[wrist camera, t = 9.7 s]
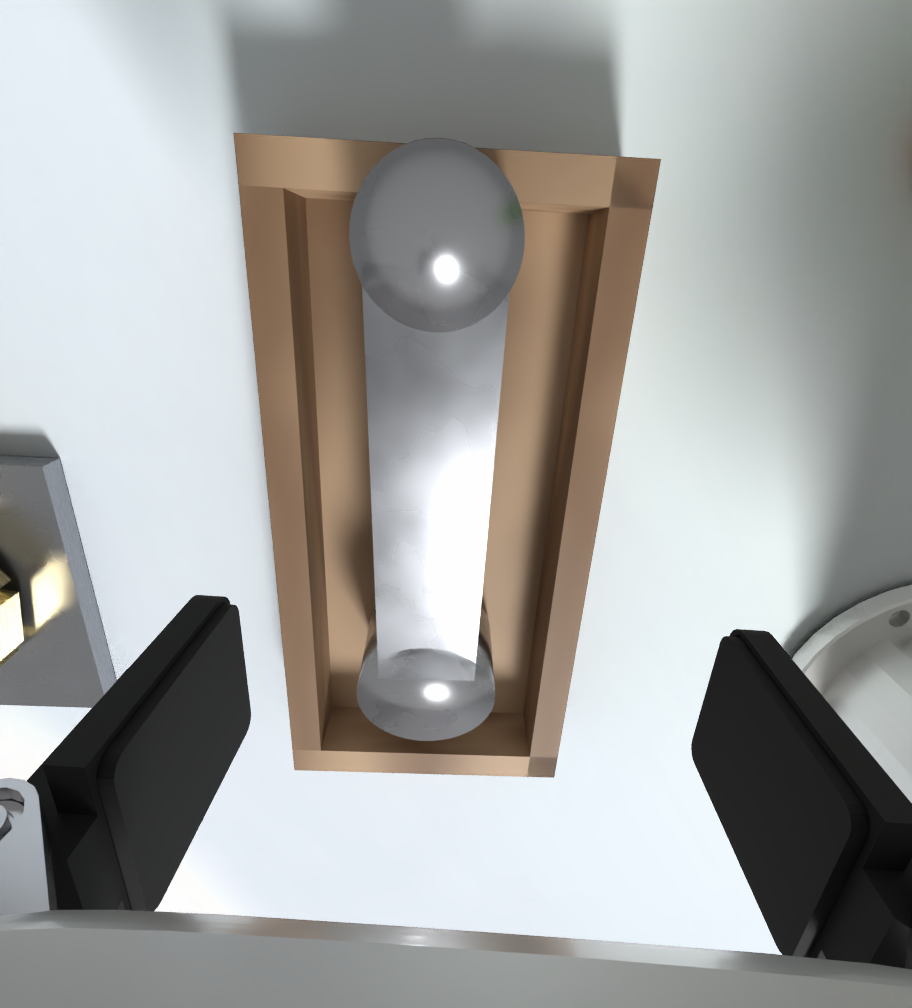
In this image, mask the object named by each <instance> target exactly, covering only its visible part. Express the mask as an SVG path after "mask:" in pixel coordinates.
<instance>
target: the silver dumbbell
mask: <svg viewBox="0 0 912 1008" xmlns="http://www.w3.org/2000/svg"><path fill="white" fill-rule="evenodd" d="M349 242H350V251H351V256H352V260H353V264H354V267H355V270H356V273H357V275H358V277H359V279H360V281H361V283H362V294H363V318H364V342H365V365H366V389H367V413H368V437H369V461H370V484H371V508H372V532H373V556H374V580H375V604H376V608H375V609H374V611H373V613H372V615H371V618H370V623H369V628H368V633H367V638H366V644H365V649H364V654H363V659H362V665H361V670H360V675H359V681H358V686H357V700H358V704H359V706H360V709H361V710H362V712H363V714H364V715H365V716H366V717H367V718H368V719H369V720H370V721H371V722H372V723H373V724H374V725H376V726H377V727H378V728H380V729H382V730H384V731H386V732H388V733H390V734H392V735H395V736H398V737H402V738H406V739H411V740H419V741H436V740H444V739H450V738H453V737H457V736H460V735H462V734H465V733H467V732H469V731H471V730H473V729H474V728H476V727H477V726H479V725H480V724H481V723H482V722H483V721H484V720H485V719H486V718H487V717H488V715H489V714H490V712H491V711H492V708H493V706H494V702H495V685H494V672H493V659H492V646H491V633H490V624H489V619H488V617H487V614H486V612H485V611H484V609H483V608H482V606H481V600H482V589H483V578H484V567H485V556H486V545H487V534H488V523H489V512H490V501H491V490H492V479H493V468H494V457H495V446H496V435H497V424H498V413H499V402H500V391H501V380H502V369H503V358H504V347H505V336H506V325H507V314H508V303H509V292H510V290H511V288H512V286H513V285H514V283H515V281H516V278H517V276H518V273H519V271H520V267H521V264H522V260H523V254H524V247H525V229H524V220H523V215H522V210H521V207H520V204H519V201H518V198H517V195H516V193H515V191H514V189H513V187H512V185H511V183H510V182H509V180H508V179H507V177H506V176H505V174H504V173H503V172H502V171H501V169H500V168H499V167H498V166H497V165H496V164H495V163H494V162H493V161H492V160H491V159H490V158H488V157H487V156H486V155H485V154H483V153H482V152H480V151H479V150H477V149H475V148H473V147H471V146H469V145H467V144H465V143H462V142H458V141H455V140H451V139H443V138H427V139H421V140H416V141H412V142H410V143H407V144H404V145H402V146H400V147H398V148H396V149H394V150H393V151H391V152H390V153H388V154H387V155H386V156H384V157H383V158H382V159H381V160H380V161H379V162H378V163H377V164H376V165H375V166H374V167H373V168H372V169H371V171H370V172H369V173H368V175H367V176H366V177H365V179H364V181H363V183H362V184H361V186H360V188H359V190H358V193H357V195H356V198H355V200H354V204H353V207H352V211H351V217H350V225H349Z"/></svg>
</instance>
